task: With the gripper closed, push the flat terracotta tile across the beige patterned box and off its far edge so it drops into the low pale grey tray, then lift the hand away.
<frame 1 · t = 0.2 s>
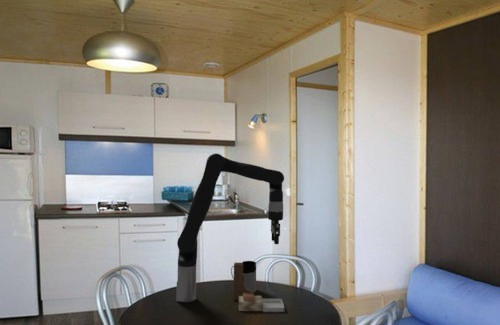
hand: (275, 242, 194), 29 cm above the table, tool pointing down, fingers open, 8 cm apart
tile: (248, 298, 182), point 4 cm above the table, touching beige patterned box
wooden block: (242, 299, 193), on the table
beige patterned box: (250, 307, 182), on the table
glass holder: (243, 290, 207), on the table
tray: (272, 307, 183), on the table
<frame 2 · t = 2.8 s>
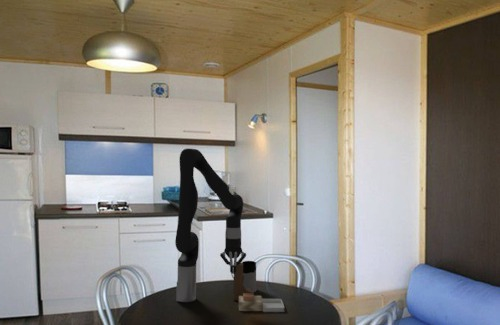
hand: (233, 273, 182), 16 cm above the table, tool pointing down, fingers closed
nothing on the table moved.
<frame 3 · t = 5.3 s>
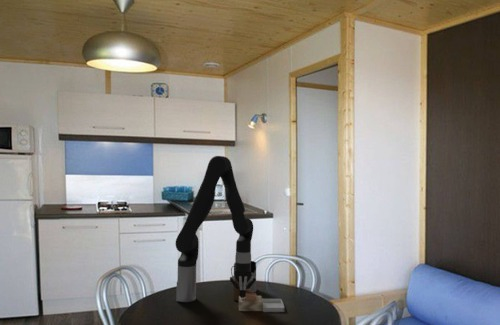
hand: (242, 297, 182), 5 cm above the table, tool pointing down, fingers closed
tile: (250, 298, 182), point 4 cm above the table, touching gripper, beige patterned box
everything else where it was.
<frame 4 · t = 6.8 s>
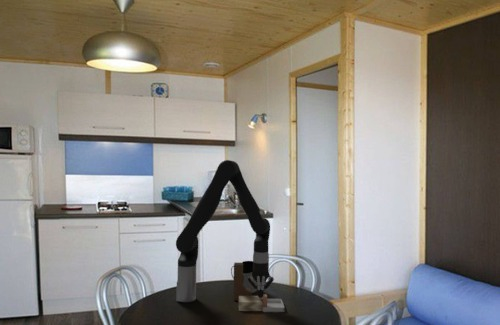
hand: (260, 297, 182), 5 cm above the table, tool pointing down, fingers closed
tile: (262, 301, 182), point 3 cm above the table, tilted 92°, touching gripper, tray
everything else where it was.
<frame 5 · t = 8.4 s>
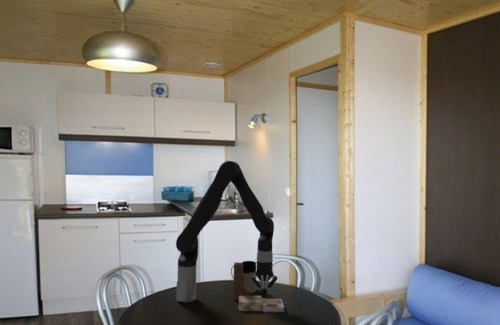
hand: (264, 296, 182), 5 cm above the table, tool pointing down, fingers closed
tile: (271, 302, 183), point 2 cm above the table, tilted 180°, touching tray
everything else where it was.
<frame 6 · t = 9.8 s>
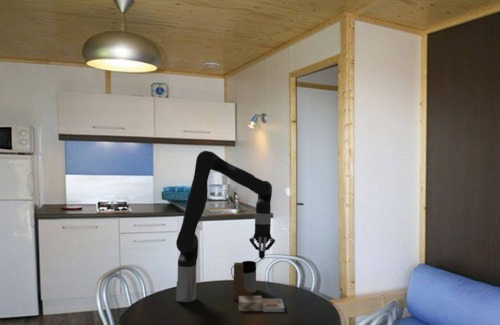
hand: (261, 258, 184), 23 cm above the table, tool pointing down, fingers closed
nothing on the table moved.
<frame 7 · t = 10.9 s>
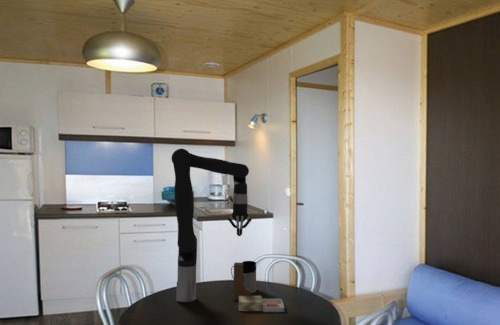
hand: (239, 235, 199), 31 cm above the table, tool pointing down, fingers closed
nothing on the table moved.
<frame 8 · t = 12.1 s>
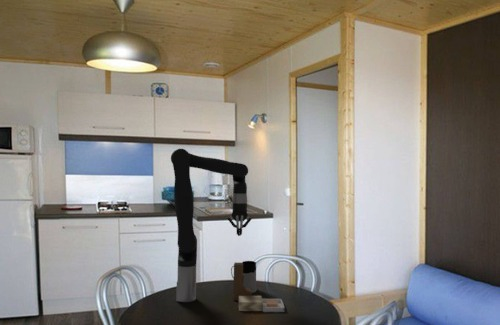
hand: (239, 235, 199), 31 cm above the table, tool pointing down, fingers closed
nothing on the table moved.
at the end: tile inside the target area (0.3 cm from its centre), point 2.4 cm above the table; tile moved 11.3 cm from its start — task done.
